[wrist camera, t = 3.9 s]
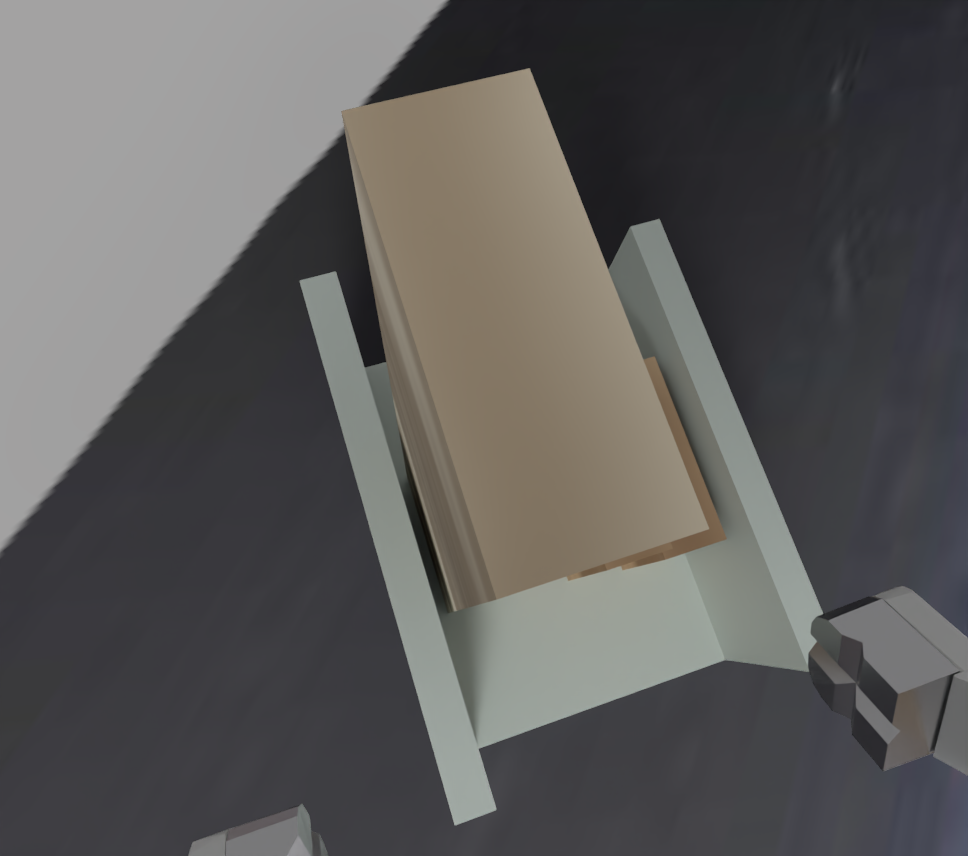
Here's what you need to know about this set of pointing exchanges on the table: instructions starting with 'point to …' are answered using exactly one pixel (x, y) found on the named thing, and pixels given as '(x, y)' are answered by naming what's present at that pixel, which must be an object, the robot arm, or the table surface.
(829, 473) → the table surface
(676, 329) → the offcut rack
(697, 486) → the offcut stack
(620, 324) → the birch board
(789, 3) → the table surface
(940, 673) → the robot arm
